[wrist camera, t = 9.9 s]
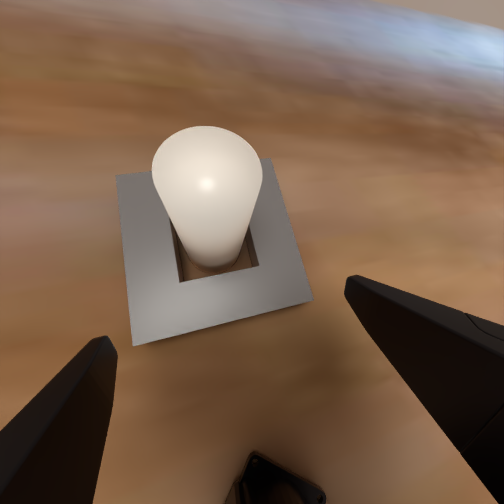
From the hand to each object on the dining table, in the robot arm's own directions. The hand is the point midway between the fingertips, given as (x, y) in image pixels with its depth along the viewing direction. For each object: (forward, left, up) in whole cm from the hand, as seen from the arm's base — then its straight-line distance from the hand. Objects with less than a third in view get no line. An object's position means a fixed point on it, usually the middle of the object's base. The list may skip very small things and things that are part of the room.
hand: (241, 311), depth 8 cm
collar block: (+4, -5, -12) cm, 14 cm away
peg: (+4, -5, -12) cm, 14 cm away
